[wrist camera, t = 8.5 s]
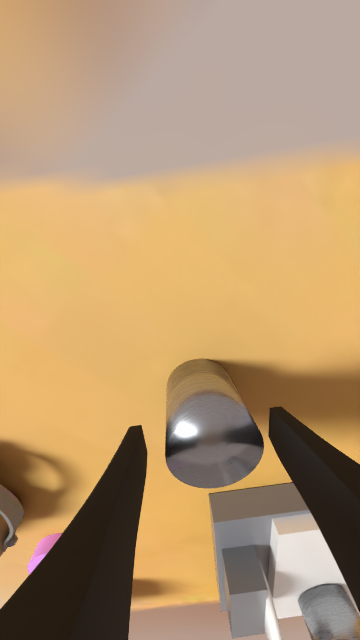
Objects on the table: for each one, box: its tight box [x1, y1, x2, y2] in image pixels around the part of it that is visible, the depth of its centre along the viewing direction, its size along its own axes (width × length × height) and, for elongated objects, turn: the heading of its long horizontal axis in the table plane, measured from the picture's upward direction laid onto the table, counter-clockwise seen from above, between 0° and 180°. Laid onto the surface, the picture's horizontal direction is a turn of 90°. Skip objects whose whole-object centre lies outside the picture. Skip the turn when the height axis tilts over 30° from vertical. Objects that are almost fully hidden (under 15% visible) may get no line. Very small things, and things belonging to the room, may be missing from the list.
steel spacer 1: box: [165, 359, 264, 488], centre depth 11 cm, size 5×5×5 cm
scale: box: [209, 483, 357, 640], centre depth 17 cm, size 16×16×6 cm
